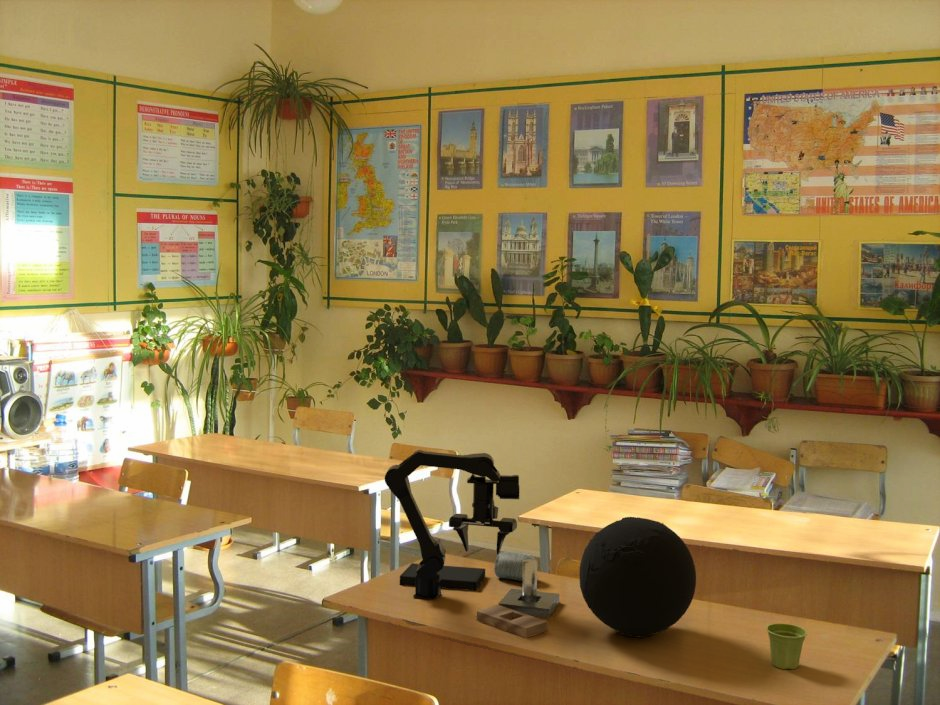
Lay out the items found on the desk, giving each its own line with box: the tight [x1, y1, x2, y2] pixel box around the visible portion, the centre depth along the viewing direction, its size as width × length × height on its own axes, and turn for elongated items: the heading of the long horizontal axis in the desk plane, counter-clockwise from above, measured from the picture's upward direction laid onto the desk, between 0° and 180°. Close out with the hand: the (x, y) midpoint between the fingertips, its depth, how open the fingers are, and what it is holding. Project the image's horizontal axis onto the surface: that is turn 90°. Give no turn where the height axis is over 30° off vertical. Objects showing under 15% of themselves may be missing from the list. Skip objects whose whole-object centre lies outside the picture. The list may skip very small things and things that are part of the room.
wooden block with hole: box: [475, 604, 548, 639], centre depth 270 cm, size 18×8×2 cm, turn 44°
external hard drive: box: [399, 562, 486, 591], centre depth 309 cm, size 14×23×3 cm, turn 78°
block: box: [497, 588, 560, 619], centre depth 285 cm, size 14×14×2 cm
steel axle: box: [521, 559, 538, 602], centre depth 285 cm, size 4×4×13 cm
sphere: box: [578, 516, 697, 638], centre depth 265 cm, size 30×30×30 cm
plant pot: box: [766, 622, 808, 670], centre depth 245 cm, size 9×9×9 cm
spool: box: [493, 551, 539, 582], centre depth 311 cm, size 14×10×10 cm
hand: (482, 552), depth 292 cm, fingers open, 9 cm apart
